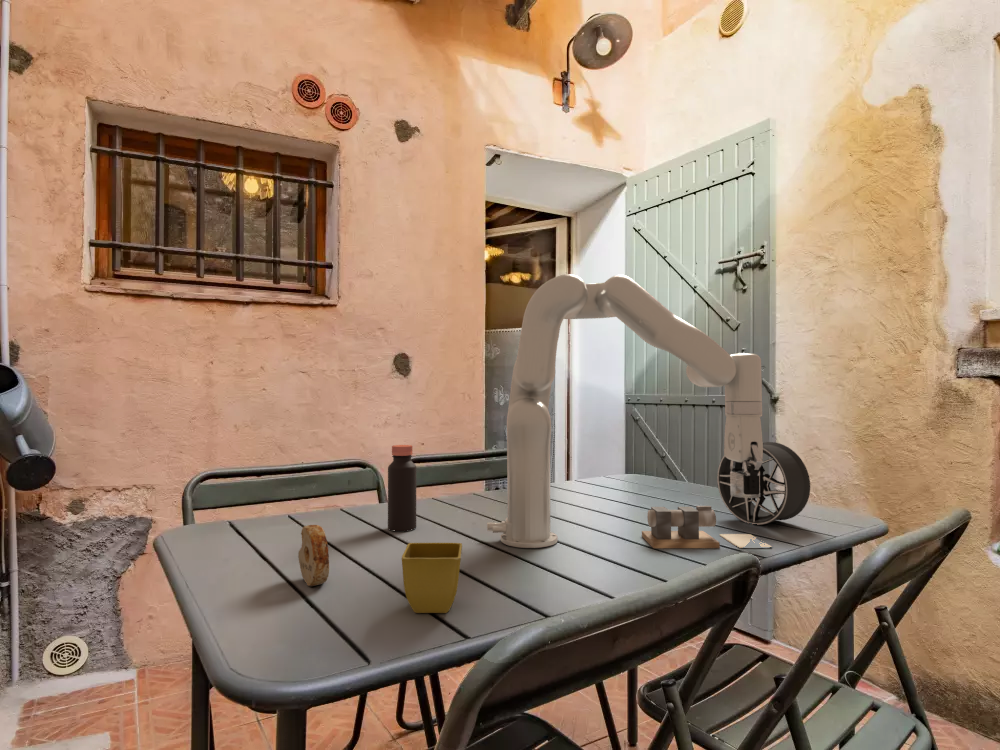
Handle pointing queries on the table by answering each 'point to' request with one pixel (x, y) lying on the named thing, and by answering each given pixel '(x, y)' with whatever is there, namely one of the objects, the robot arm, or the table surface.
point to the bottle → (402, 489)
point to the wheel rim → (793, 482)
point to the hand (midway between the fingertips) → (744, 490)
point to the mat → (741, 539)
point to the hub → (740, 485)
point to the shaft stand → (680, 527)
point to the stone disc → (314, 555)
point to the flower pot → (431, 575)
